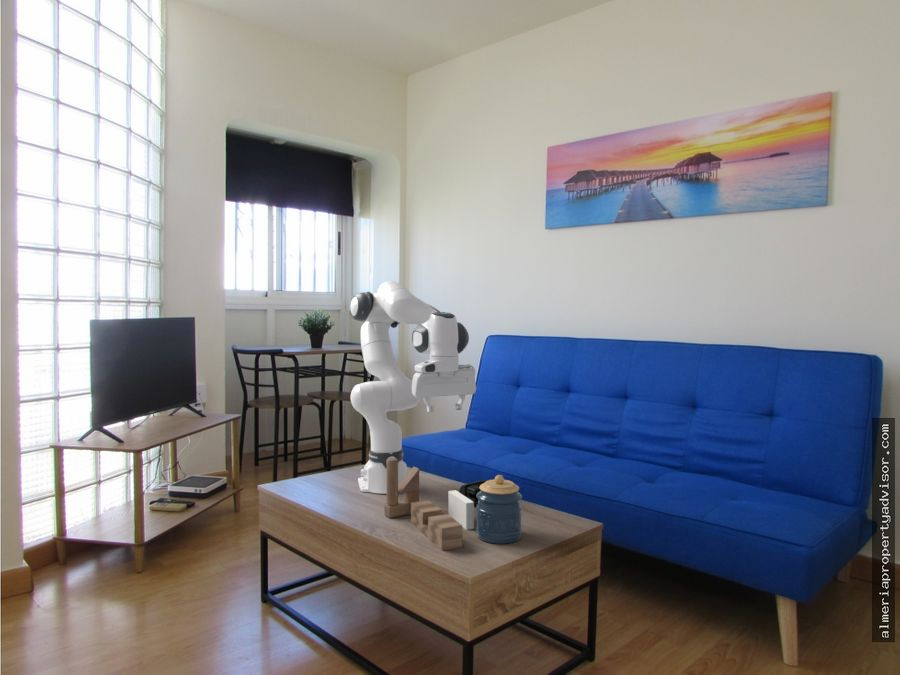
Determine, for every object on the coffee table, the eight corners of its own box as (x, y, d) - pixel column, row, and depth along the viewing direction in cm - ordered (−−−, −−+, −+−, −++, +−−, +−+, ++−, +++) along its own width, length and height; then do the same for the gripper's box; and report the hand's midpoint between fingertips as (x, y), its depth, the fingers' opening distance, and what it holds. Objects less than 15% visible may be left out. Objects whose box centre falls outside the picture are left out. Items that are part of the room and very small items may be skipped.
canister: (468, 531, 181) (468, 472, 180) (507, 525, 186) (508, 467, 185) (489, 547, 169) (489, 483, 168) (530, 540, 174) (530, 478, 173)
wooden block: (419, 512, 197) (419, 456, 196) (389, 518, 191) (389, 461, 190) (413, 509, 200) (413, 454, 199) (384, 515, 194) (383, 458, 194)
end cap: (480, 497, 214) (480, 477, 213) (495, 502, 208) (495, 482, 208) (458, 503, 207) (458, 483, 207) (473, 508, 202) (473, 487, 201)
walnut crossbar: (410, 521, 189) (410, 502, 188) (429, 519, 191) (429, 500, 191) (441, 550, 167) (441, 528, 166) (462, 547, 169) (462, 525, 169)
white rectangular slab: (448, 516, 194) (448, 491, 194) (455, 515, 195) (455, 490, 195) (466, 529, 182) (466, 503, 182) (473, 528, 183) (473, 502, 183)
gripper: (470, 363, 196) (470, 407, 196) (409, 366, 188) (410, 411, 188) (479, 364, 190) (479, 409, 190) (416, 367, 182) (417, 414, 182)
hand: (444, 410), depth 189 cm, fingers open, 8 cm apart
